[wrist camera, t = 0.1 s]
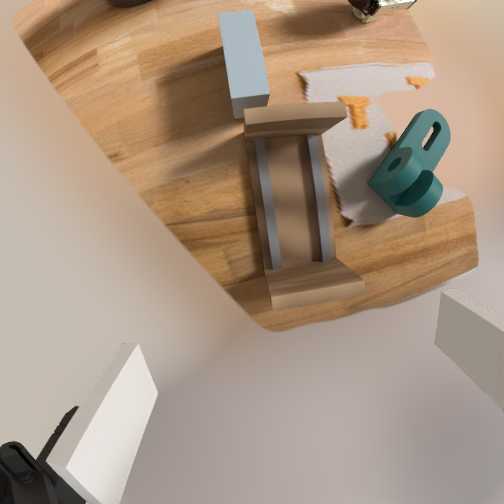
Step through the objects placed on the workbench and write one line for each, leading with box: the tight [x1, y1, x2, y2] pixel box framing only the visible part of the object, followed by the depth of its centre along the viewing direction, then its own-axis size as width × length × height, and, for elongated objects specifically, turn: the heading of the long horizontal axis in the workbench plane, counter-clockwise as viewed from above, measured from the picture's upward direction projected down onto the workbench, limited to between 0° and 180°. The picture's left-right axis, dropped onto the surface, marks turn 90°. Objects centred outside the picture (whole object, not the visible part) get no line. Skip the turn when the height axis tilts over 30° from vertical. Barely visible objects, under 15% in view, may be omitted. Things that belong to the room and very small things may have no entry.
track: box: [244, 102, 365, 311], centre depth 31 cm, size 20×10×11 cm, turn 8°
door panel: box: [218, 10, 270, 119], centre depth 28 cm, size 12×4×9 cm, turn 8°
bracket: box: [367, 109, 450, 217], centre depth 32 cm, size 18×7×8 cm, turn 142°
